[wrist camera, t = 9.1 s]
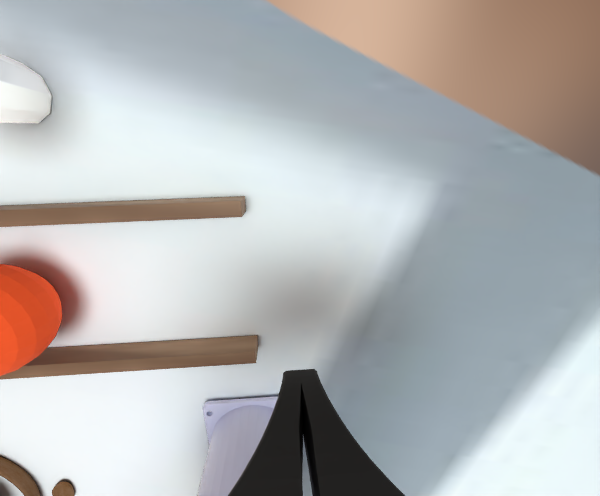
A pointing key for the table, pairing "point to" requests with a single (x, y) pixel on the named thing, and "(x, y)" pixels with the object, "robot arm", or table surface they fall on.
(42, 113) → the milkshake
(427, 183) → the table surface
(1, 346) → the clementine
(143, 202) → the lane rails
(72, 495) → the place setting
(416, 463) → the table surface
